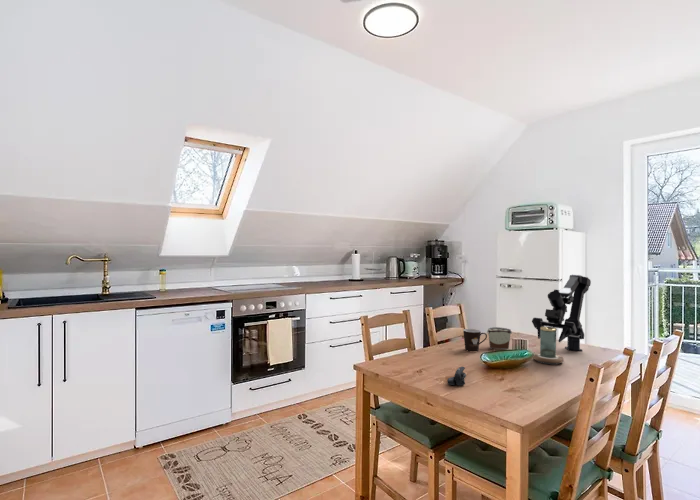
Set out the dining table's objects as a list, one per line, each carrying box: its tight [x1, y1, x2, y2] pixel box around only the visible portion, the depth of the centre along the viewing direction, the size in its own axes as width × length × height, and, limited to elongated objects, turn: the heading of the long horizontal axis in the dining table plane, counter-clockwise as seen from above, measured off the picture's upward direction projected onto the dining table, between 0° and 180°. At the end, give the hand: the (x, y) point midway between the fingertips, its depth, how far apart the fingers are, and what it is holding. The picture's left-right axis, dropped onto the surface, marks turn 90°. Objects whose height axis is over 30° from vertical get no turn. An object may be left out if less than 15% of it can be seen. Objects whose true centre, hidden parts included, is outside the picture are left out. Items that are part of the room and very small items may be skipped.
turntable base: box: [535, 360, 561, 365], centre depth 194 cm, size 10×10×1 cm
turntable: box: [532, 352, 565, 364], centre depth 194 cm, size 13×13×1 cm
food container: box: [486, 326, 513, 350], centre depth 221 cm, size 12×6×10 cm, turn 84°
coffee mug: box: [462, 328, 488, 352], centre depth 213 cm, size 12×9×10 cm
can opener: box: [447, 366, 467, 387], centre depth 166 cm, size 18×7×6 cm, turn 155°
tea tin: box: [539, 326, 558, 358], centre depth 194 cm, size 7×7×13 cm
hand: (548, 340), depth 195 cm, fingers open, 9 cm apart
